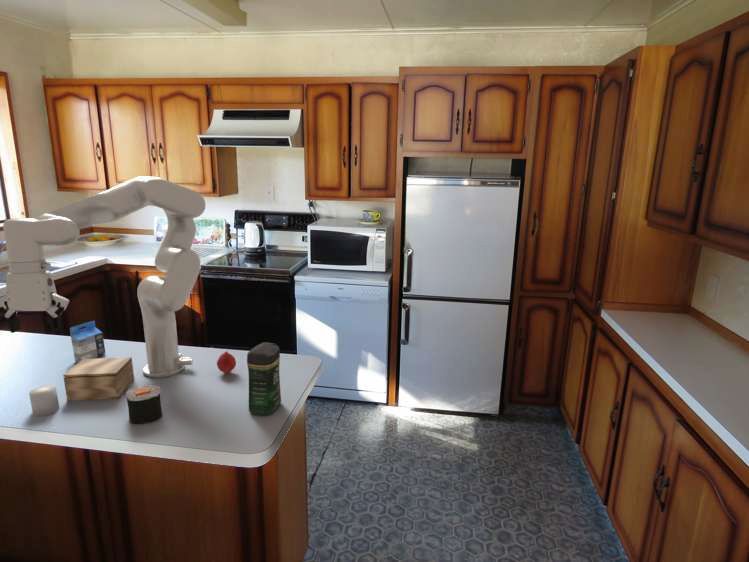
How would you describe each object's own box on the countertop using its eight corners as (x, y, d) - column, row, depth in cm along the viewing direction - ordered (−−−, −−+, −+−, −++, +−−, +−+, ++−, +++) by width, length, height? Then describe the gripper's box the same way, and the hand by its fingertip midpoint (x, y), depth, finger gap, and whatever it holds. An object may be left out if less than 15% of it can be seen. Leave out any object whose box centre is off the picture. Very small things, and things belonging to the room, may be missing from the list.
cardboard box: (134, 379, 146) (131, 359, 145) (119, 398, 135) (116, 376, 133) (86, 381, 145) (83, 360, 143) (67, 400, 133) (63, 378, 131)
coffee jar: (272, 418, 126) (269, 354, 122) (245, 415, 127) (241, 351, 123) (285, 401, 135) (283, 341, 131) (259, 398, 137) (256, 338, 132)
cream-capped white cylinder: (63, 404, 131) (60, 384, 130) (52, 415, 125) (48, 395, 124) (40, 405, 130) (37, 385, 129) (27, 416, 125) (24, 396, 123)
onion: (213, 375, 150) (212, 352, 148) (225, 368, 156) (224, 346, 154) (228, 378, 148) (227, 355, 146) (240, 371, 154) (238, 349, 152)
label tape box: (81, 363, 157) (76, 329, 154) (74, 361, 159) (69, 327, 156) (106, 354, 165) (101, 321, 162) (98, 352, 167) (94, 320, 164)
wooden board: (131, 359, 145) (131, 357, 145) (116, 375, 133) (115, 373, 133) (83, 360, 143) (83, 358, 143) (63, 376, 131) (63, 374, 131)
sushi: (165, 419, 125) (162, 392, 123) (130, 427, 120) (127, 399, 118) (160, 406, 131) (158, 380, 129) (127, 413, 127) (124, 387, 125)
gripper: (71, 264, 124) (78, 325, 127) (-1, 264, 121) (8, 326, 125) (56, 270, 116) (64, 335, 120) (-20, 269, 114) (-10, 336, 118)
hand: (36, 330), depth 122 cm, fingers open, 9 cm apart
